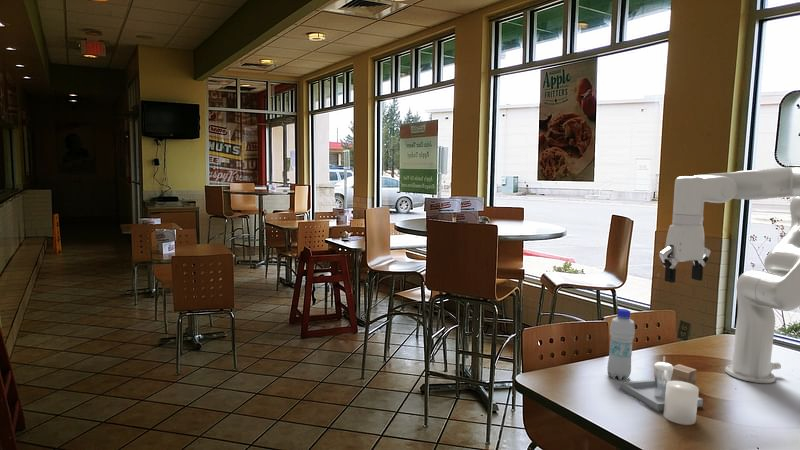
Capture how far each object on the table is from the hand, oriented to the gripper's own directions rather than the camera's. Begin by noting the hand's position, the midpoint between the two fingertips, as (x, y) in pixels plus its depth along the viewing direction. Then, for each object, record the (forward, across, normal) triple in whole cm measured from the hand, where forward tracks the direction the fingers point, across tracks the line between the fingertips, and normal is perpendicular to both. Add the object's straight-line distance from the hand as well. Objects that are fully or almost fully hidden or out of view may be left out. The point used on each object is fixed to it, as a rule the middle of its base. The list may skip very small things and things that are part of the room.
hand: (683, 280), depth 158 cm
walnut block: (+29, +2, +4) cm, 29 cm away
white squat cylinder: (+28, +20, +21) cm, 40 cm away
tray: (+28, +16, +10) cm, 34 cm away
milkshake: (+28, +15, +10) cm, 33 cm away
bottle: (+28, +16, -5) cm, 33 cm away
